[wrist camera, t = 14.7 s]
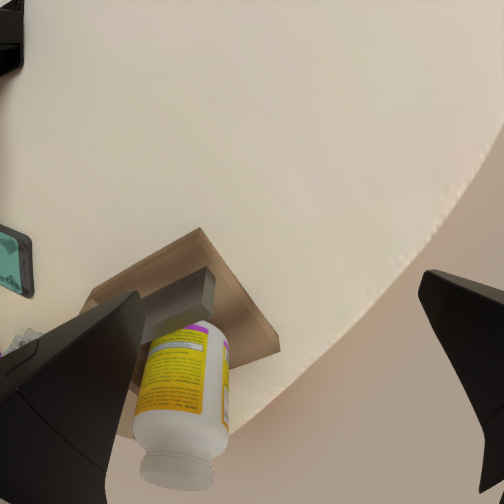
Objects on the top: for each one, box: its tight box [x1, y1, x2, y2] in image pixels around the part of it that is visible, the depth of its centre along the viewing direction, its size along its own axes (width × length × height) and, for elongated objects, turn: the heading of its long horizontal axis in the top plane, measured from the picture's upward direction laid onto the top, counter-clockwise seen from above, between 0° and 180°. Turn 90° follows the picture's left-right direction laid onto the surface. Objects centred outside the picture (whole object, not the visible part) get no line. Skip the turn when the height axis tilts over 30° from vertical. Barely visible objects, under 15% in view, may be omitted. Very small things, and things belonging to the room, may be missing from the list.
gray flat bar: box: [141, 266, 216, 345], centre depth 21 cm, size 1×10×4 cm, turn 118°
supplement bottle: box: [132, 320, 229, 491], centre depth 20 cm, size 7×7×13 cm
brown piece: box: [78, 228, 280, 396], centre depth 24 cm, size 13×12×6 cm
